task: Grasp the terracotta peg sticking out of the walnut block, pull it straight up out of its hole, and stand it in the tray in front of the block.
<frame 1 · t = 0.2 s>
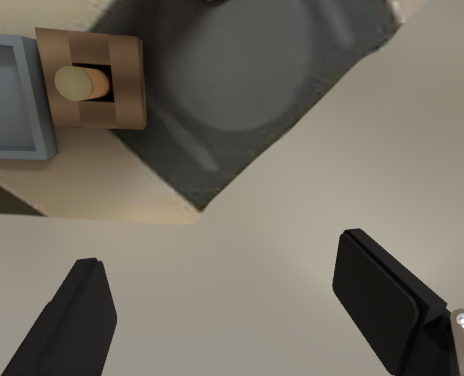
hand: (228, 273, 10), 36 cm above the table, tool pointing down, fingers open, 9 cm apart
pin block: (103, 82, 39), on the table
peg: (90, 83, 34), in the pin block
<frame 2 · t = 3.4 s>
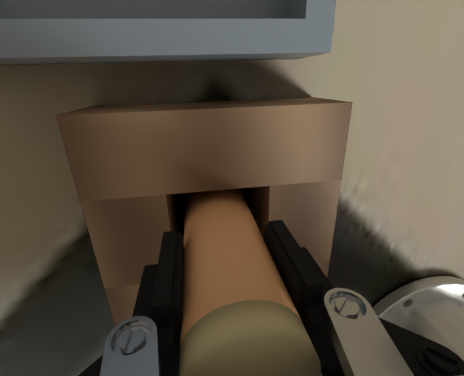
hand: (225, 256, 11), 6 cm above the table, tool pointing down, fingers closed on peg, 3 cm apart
pin block: (214, 200, 16), on the table
peg: (224, 252, 11), in the pin block, touching gripper
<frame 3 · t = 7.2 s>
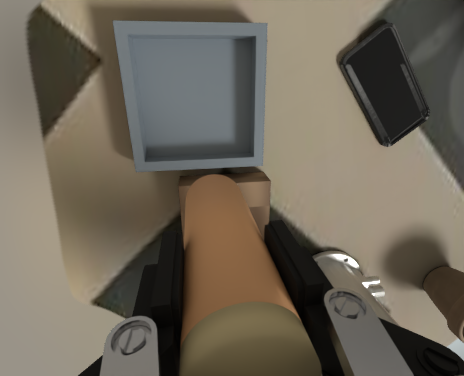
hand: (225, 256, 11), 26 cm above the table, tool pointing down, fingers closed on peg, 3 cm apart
pin block: (223, 211, 39), on the table
peg: (225, 253, 11), point 26 cm above the table, touching gripper
flower pot: (437, 278, 51), on the table
phone: (382, 89, 36), on the table
tray: (197, 101, 33), on the table
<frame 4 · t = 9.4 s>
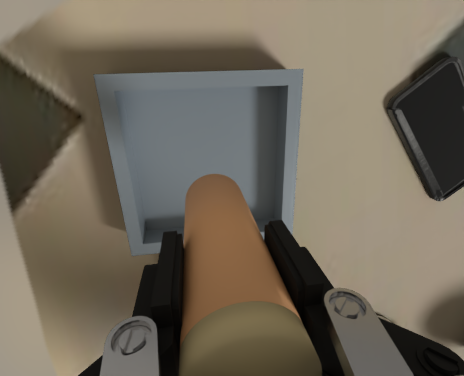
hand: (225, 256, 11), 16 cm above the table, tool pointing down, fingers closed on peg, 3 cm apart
peg: (224, 253, 11), point 16 cm above the table, touching gripper
phone: (436, 134, 29), on the table
tray: (207, 160, 26), on the table
when the fingers open (9 cm above the table, at t = 11.1 s): peg drops 2 cm, resting on tray.
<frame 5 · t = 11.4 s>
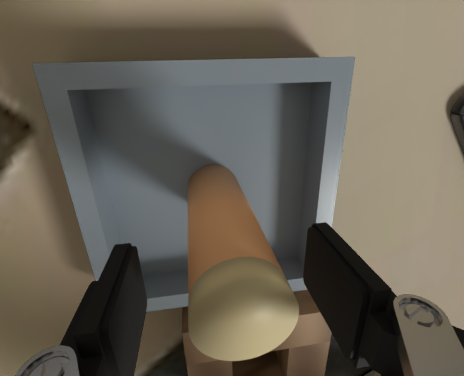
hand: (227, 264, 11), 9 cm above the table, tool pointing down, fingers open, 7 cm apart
pin block: (250, 330, 26), on the table
peg: (223, 230, 13), in the tray, point 6 cm above the table
tray: (210, 183, 19), on the table
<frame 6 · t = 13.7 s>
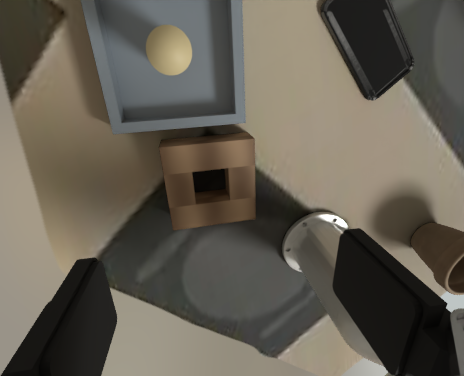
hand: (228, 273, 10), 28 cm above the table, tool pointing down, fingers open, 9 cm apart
pin block: (209, 176, 39), on the table
peg: (171, 54, 26), in the tray, point 6 cm above the table
flower pot: (424, 235, 52), on the table
phone: (366, 39, 35), on the table
tray: (172, 56, 31), on the table
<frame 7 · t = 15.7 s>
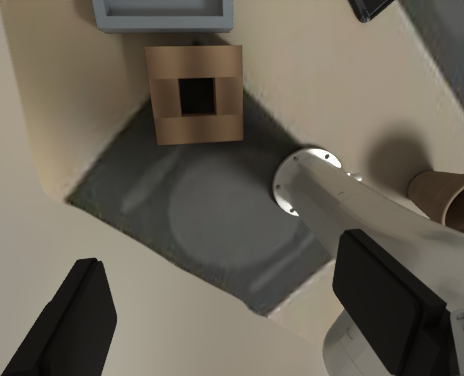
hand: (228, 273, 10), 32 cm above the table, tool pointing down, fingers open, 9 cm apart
pin block: (197, 96, 38), on the table
flower pot: (422, 186, 50), on the table
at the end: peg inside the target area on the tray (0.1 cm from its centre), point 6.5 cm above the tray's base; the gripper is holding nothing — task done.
